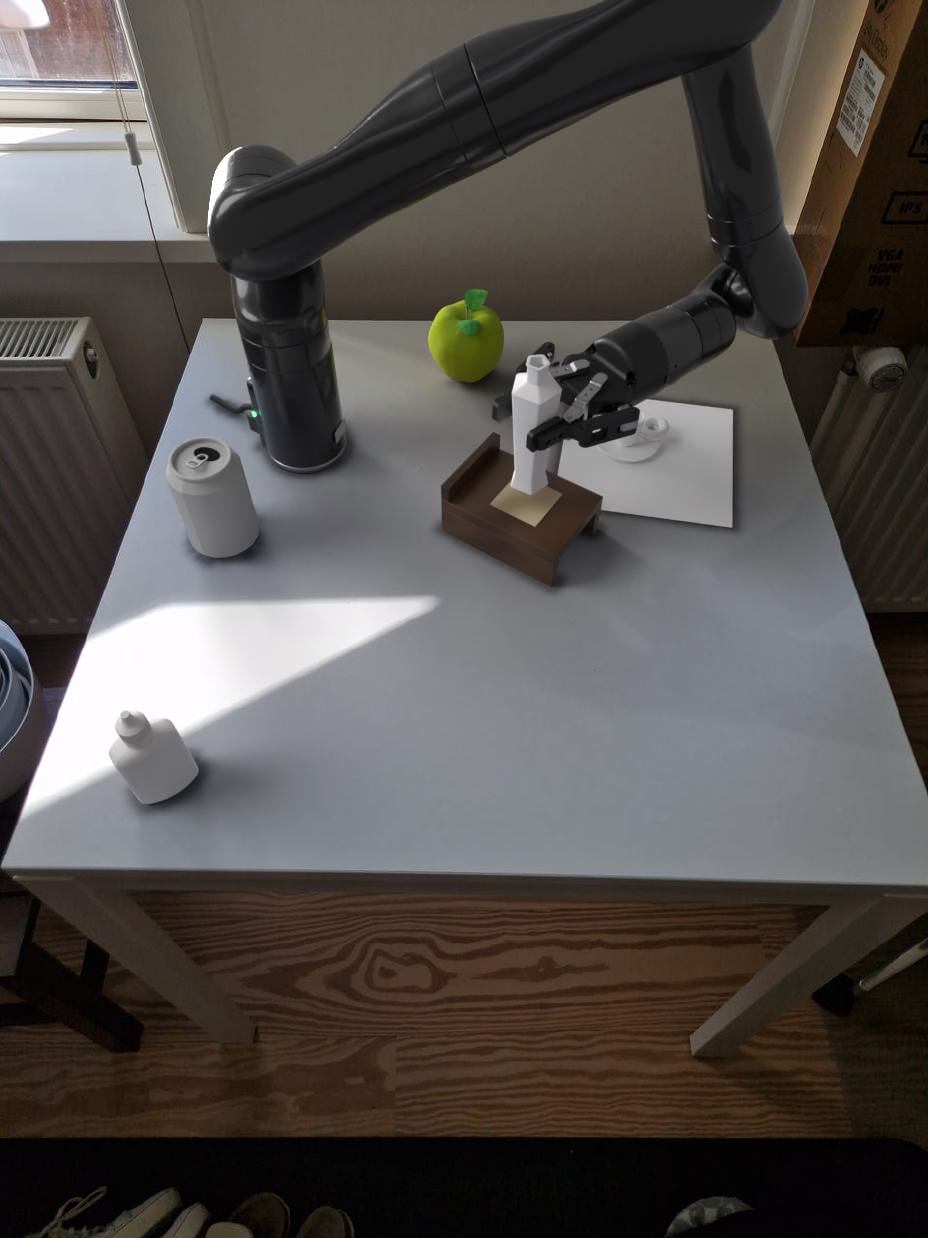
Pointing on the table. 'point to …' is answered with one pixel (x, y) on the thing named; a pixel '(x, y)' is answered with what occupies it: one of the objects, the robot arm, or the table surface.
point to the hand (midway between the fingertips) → (512, 427)
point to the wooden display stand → (515, 512)
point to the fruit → (467, 338)
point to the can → (212, 496)
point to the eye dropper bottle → (151, 757)
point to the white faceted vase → (532, 421)
